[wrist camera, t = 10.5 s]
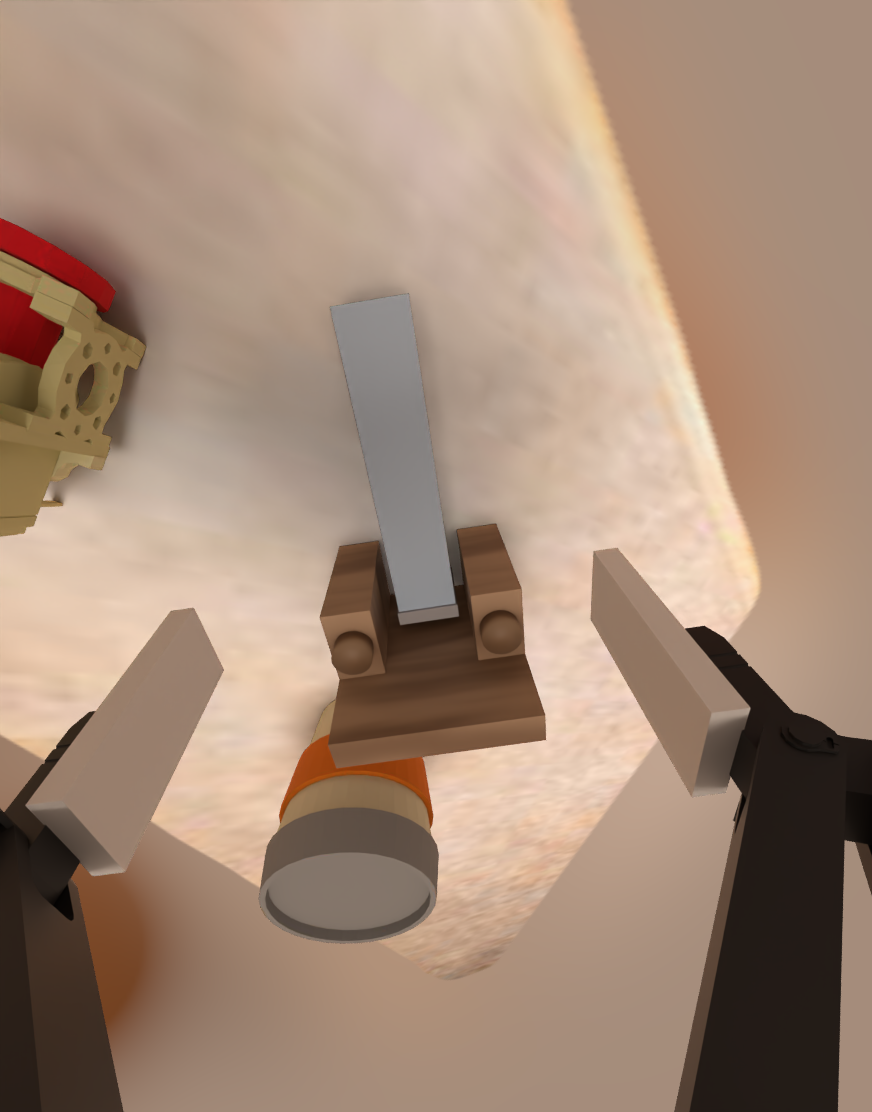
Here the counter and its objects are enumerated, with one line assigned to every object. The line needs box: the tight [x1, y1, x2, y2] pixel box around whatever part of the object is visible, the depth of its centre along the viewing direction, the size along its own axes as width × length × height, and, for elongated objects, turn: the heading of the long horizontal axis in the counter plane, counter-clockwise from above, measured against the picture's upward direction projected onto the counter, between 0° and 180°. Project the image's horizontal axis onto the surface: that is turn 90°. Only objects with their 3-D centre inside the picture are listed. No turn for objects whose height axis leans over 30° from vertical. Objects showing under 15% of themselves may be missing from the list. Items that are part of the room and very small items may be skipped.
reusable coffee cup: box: [259, 700, 439, 944], centre depth 38 cm, size 13×13×15 cm
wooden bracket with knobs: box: [320, 524, 546, 768], centre depth 31 cm, size 7×12×14 cm, turn 98°
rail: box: [330, 293, 459, 625], centre depth 30 cm, size 20×4×5 cm, turn 8°
